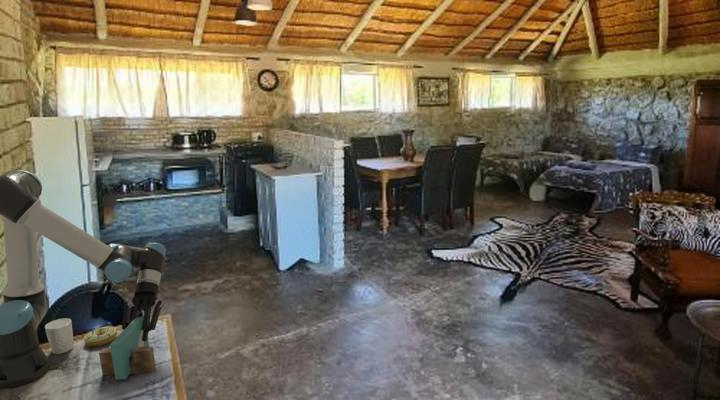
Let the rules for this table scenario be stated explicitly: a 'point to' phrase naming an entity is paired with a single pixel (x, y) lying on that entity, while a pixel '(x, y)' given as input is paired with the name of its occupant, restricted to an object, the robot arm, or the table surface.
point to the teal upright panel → (126, 347)
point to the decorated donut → (100, 336)
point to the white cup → (60, 335)
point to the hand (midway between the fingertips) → (133, 351)
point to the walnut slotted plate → (130, 361)
